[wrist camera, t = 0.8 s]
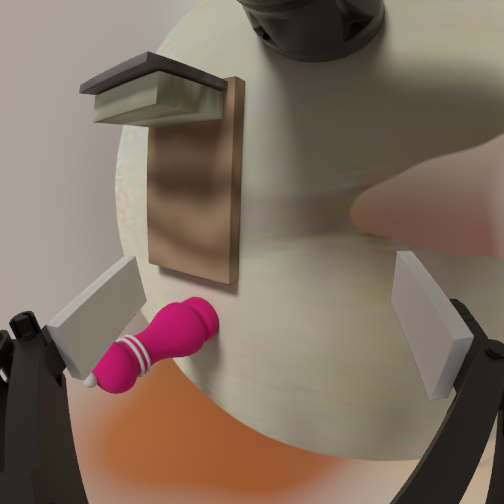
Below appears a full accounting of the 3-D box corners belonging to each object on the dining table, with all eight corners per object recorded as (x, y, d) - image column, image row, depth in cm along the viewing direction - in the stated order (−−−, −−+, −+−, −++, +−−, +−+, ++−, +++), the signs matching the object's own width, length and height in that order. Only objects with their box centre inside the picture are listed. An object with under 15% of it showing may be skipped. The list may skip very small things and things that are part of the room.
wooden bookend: (161, 97, 37) (77, 83, 26) (244, 80, 31) (156, 43, 19) (158, 259, 44) (79, 285, 32) (238, 279, 37) (153, 322, 25)
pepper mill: (204, 285, 40) (74, 344, 23) (231, 332, 39) (113, 412, 22) (174, 303, 44) (59, 357, 27) (198, 345, 43) (91, 413, 26)
